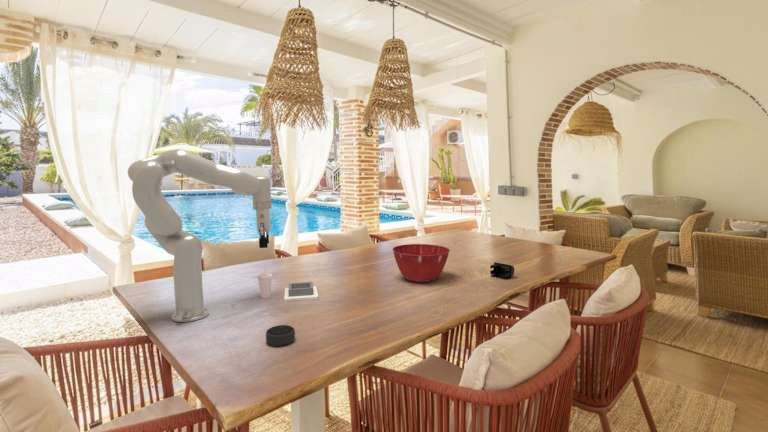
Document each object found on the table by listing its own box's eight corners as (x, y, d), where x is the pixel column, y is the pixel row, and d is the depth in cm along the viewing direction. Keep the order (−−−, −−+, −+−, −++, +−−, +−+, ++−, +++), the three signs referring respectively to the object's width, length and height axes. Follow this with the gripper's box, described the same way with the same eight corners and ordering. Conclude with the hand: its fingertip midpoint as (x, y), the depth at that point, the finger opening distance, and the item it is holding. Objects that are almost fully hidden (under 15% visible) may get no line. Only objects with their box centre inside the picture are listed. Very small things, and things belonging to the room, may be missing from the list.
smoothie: (265, 300, 170) (263, 267, 169) (254, 297, 174) (253, 266, 172) (276, 296, 176) (275, 264, 174) (266, 294, 179) (265, 263, 178)
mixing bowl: (460, 278, 203) (461, 248, 201) (426, 290, 182) (426, 257, 180) (416, 269, 222) (416, 241, 220) (380, 279, 201) (380, 249, 200)
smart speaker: (297, 335, 133) (296, 324, 133) (292, 347, 124) (291, 334, 124) (270, 336, 133) (269, 324, 133) (263, 347, 124) (262, 335, 124)
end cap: (514, 277, 203) (514, 264, 203) (506, 280, 199) (507, 266, 198) (497, 274, 211) (497, 261, 210) (489, 276, 206) (489, 263, 205)
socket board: (318, 298, 172) (317, 289, 171) (284, 301, 169) (283, 292, 168) (316, 288, 187) (316, 280, 187) (285, 290, 184) (284, 282, 184)
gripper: (270, 207, 163) (272, 248, 165) (272, 203, 180) (274, 241, 182) (250, 207, 161) (253, 250, 163) (254, 204, 178) (257, 242, 180)
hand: (264, 245), depth 173 cm, fingers open, 9 cm apart
